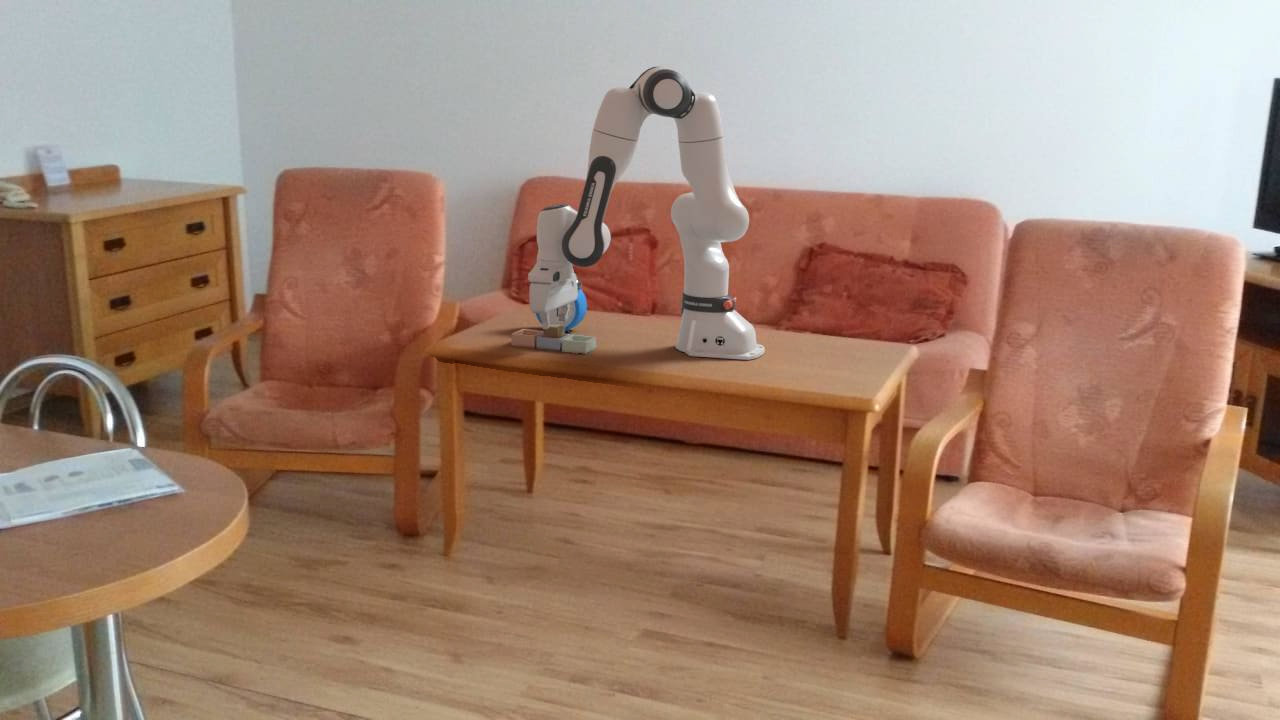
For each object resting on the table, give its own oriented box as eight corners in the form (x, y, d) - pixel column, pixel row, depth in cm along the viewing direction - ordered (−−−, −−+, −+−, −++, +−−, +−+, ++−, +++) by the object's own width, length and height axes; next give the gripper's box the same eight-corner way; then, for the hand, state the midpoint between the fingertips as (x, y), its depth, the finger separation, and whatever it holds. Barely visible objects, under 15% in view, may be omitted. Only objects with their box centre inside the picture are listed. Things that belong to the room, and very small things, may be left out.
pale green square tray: (595, 348, 283) (596, 337, 282) (585, 354, 277) (585, 342, 277) (572, 346, 285) (572, 334, 285) (561, 351, 279) (562, 339, 279)
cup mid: (570, 345, 285) (570, 334, 285) (559, 351, 280) (559, 339, 279) (547, 343, 288) (547, 331, 287) (536, 348, 282) (536, 336, 281)
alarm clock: (533, 330, 301) (533, 275, 298) (543, 325, 307) (543, 271, 303) (578, 335, 297) (579, 279, 294) (587, 330, 303) (588, 275, 299)
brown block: (550, 342, 286) (550, 323, 285) (564, 344, 285) (564, 324, 283) (543, 346, 282) (543, 326, 281) (557, 347, 281) (557, 328, 280)
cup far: (545, 342, 288) (545, 331, 287) (534, 348, 282) (534, 336, 281) (523, 340, 290) (523, 328, 289) (511, 345, 284) (511, 333, 284)
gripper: (561, 262, 290) (561, 315, 293) (524, 275, 271) (525, 331, 275) (583, 264, 287) (583, 317, 291) (548, 277, 269) (548, 334, 272)
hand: (554, 324), depth 283 cm, fingers open, 8 cm apart
